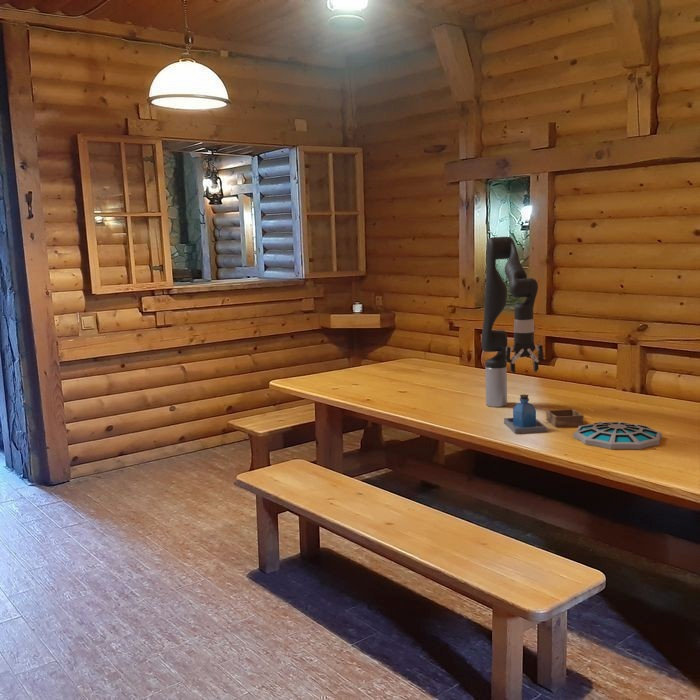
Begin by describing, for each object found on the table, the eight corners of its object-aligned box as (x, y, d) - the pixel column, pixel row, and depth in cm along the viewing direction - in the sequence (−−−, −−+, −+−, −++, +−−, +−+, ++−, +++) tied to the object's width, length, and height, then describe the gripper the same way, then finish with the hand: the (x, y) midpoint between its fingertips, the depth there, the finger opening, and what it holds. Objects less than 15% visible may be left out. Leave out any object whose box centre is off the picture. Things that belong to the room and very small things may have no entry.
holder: (546, 420, 294) (546, 410, 293) (573, 418, 294) (573, 408, 294) (555, 427, 283) (555, 417, 282) (583, 425, 283) (583, 415, 283)
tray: (504, 423, 292) (504, 418, 292) (533, 421, 293) (533, 416, 292) (515, 433, 276) (515, 428, 276) (546, 431, 277) (546, 426, 277)
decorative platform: (558, 440, 266) (558, 427, 265) (596, 423, 286) (596, 411, 286) (641, 456, 244) (641, 441, 244) (676, 436, 264) (676, 423, 264)
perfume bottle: (513, 424, 286) (512, 394, 285) (526, 422, 289) (526, 392, 287) (522, 428, 281) (522, 397, 279) (535, 426, 283) (535, 395, 281)
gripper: (539, 328, 283) (539, 369, 285) (503, 330, 282) (503, 371, 285) (545, 331, 275) (545, 373, 278) (508, 333, 275) (508, 375, 277)
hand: (524, 372), depth 281 cm, fingers open, 8 cm apart
